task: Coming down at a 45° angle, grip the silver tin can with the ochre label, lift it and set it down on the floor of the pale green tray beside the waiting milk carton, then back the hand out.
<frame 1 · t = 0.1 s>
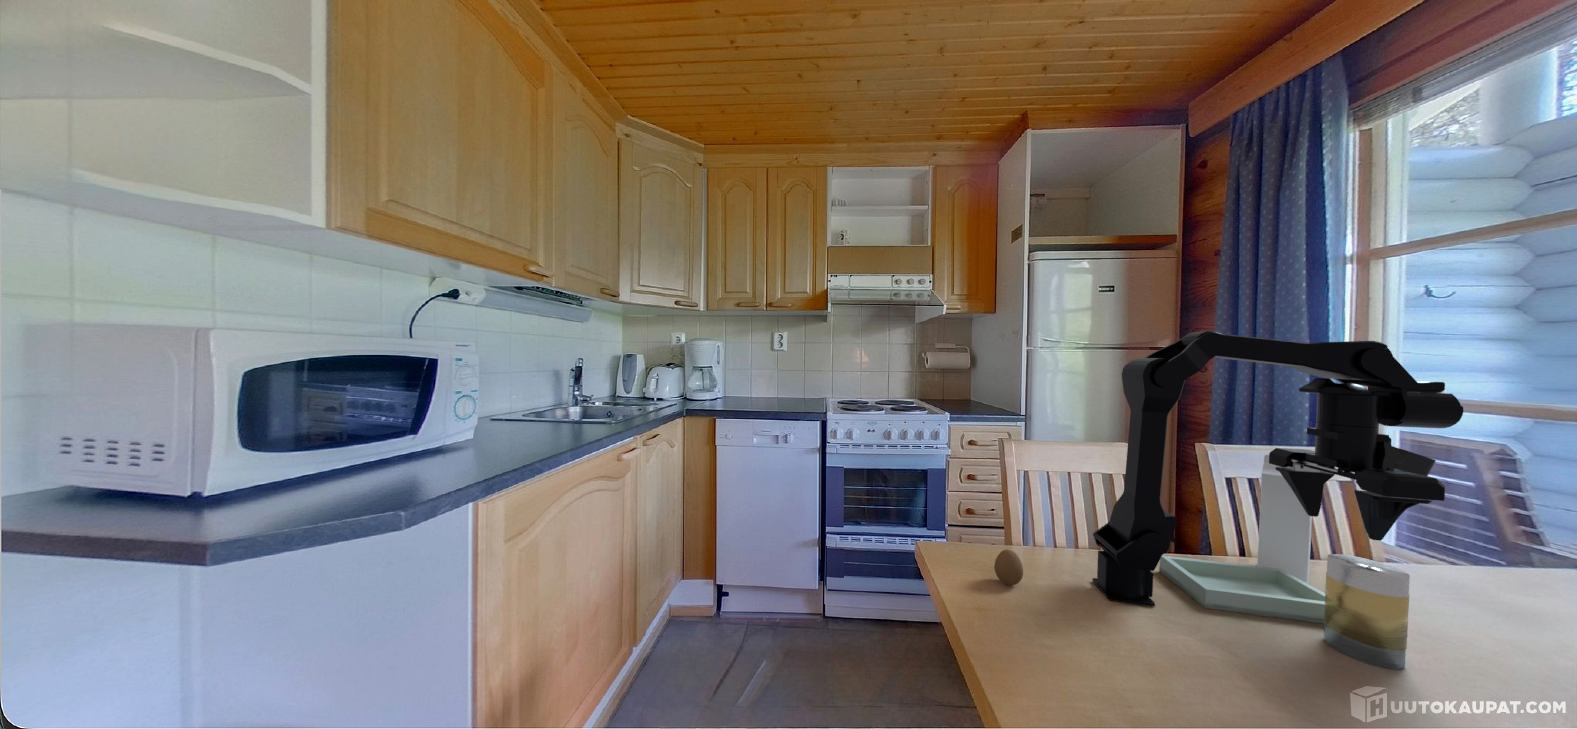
hand: (1342, 527, 64), 15 cm above the table, tool pointing down, fingers open, 9 cm apart
egg: (1008, 585, 74), on the table
pale green tray: (1244, 596, 71), on the table
tin can: (1362, 651, 58), on the table
milk: (1282, 575, 79), on the table
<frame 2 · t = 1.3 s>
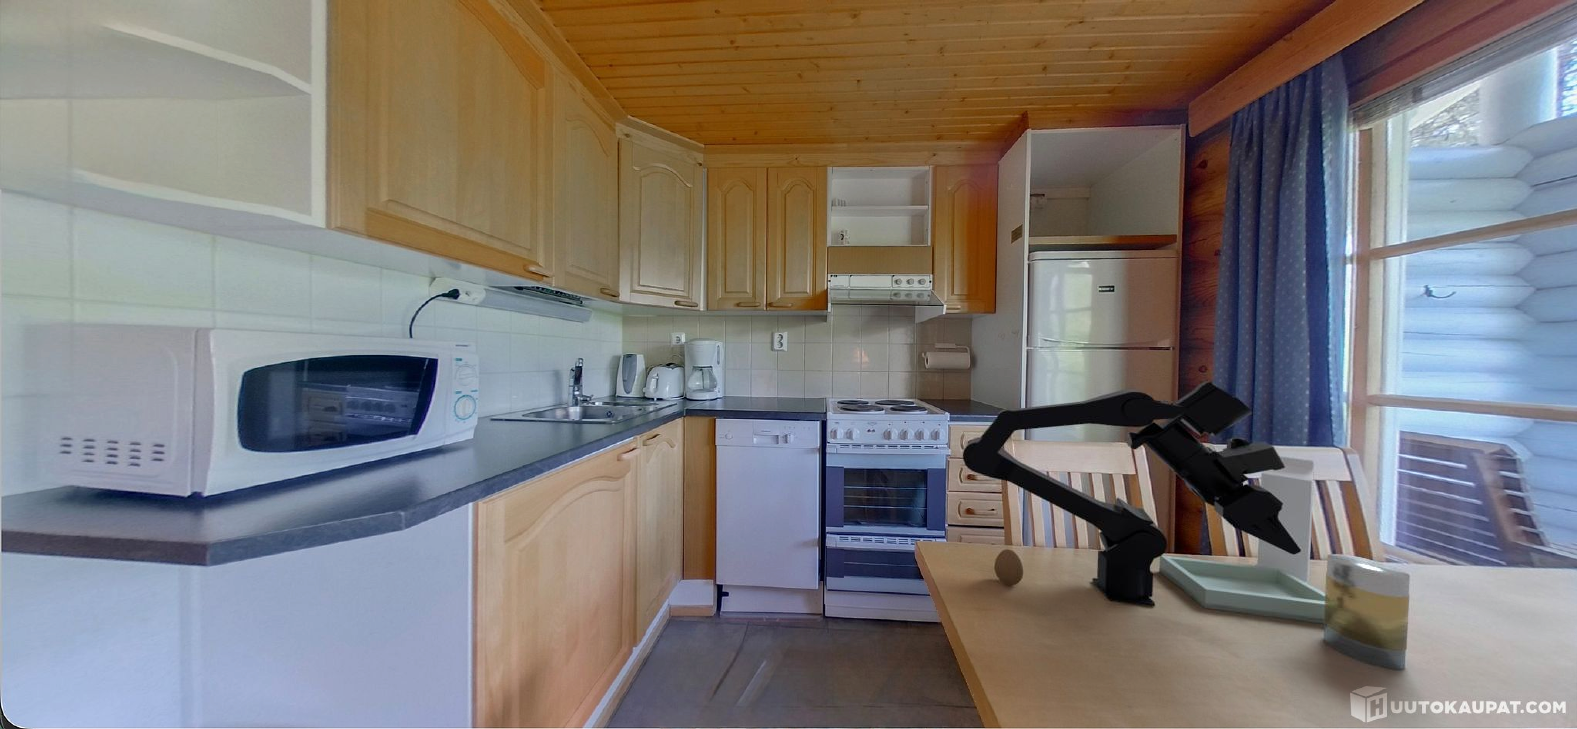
hand: (1280, 540, 62), 13 cm above the table, tool tilted 45°, fingers open, 9 cm apart
nothing on the table moved.
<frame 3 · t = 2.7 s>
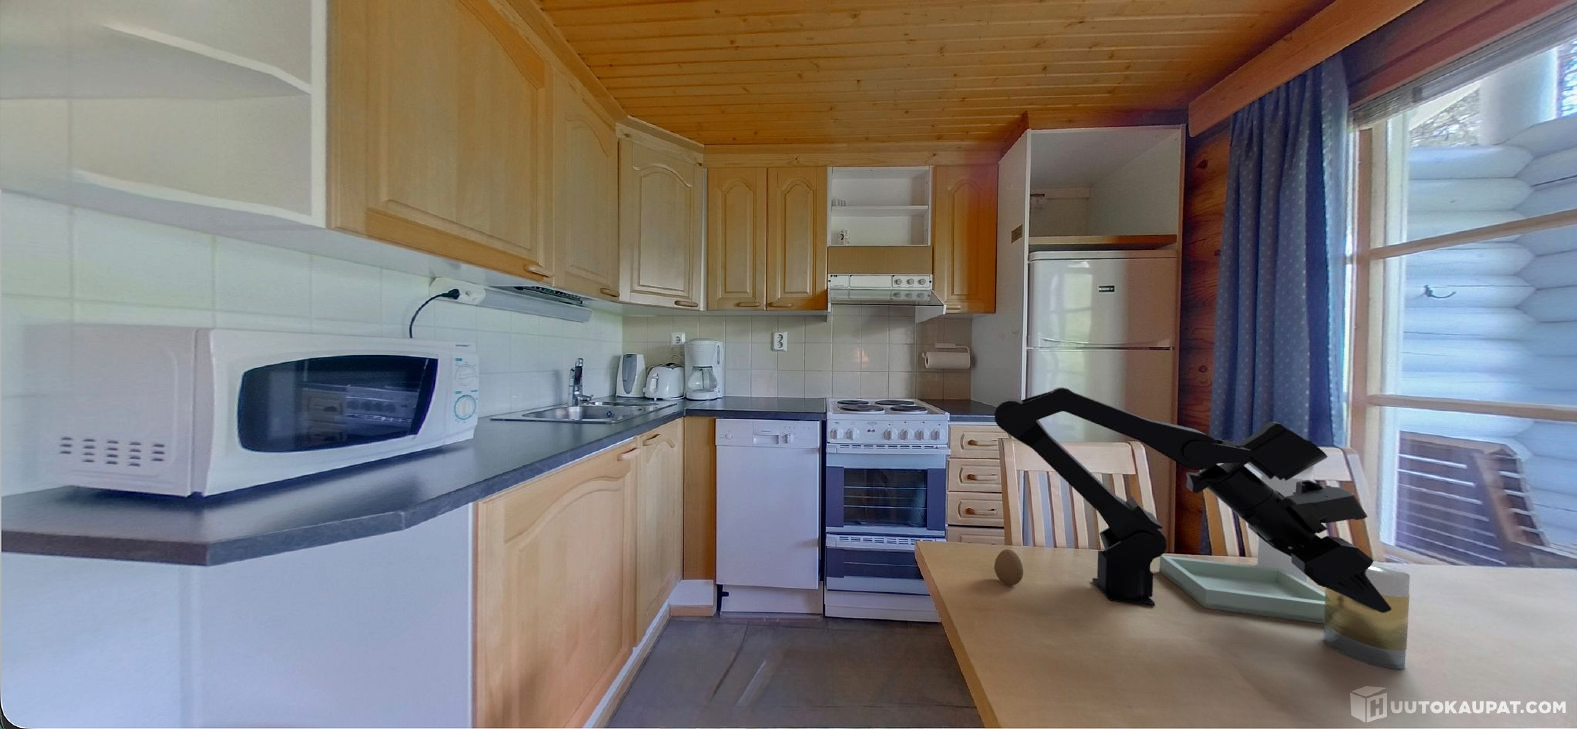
hand: (1363, 593, 58), 8 cm above the table, tool tilted 45°, fingers open, 9 cm apart
nothing on the table moved.
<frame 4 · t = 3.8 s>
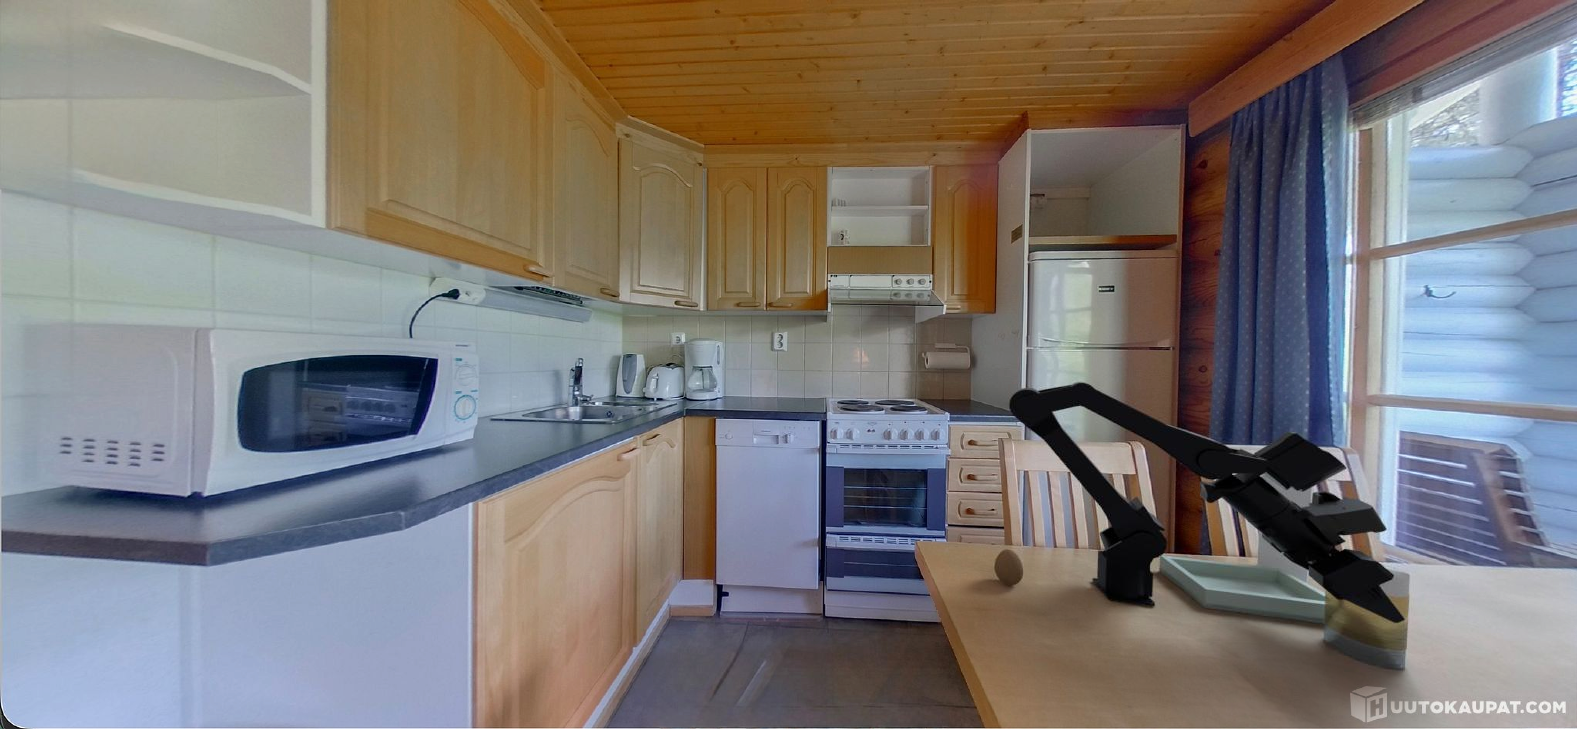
hand: (1381, 607, 57), 7 cm above the table, tool tilted 45°, fingers closed on tin can, 7 cm apart
tin can: (1362, 651, 58), on the table, touching gripper
everything else where it was.
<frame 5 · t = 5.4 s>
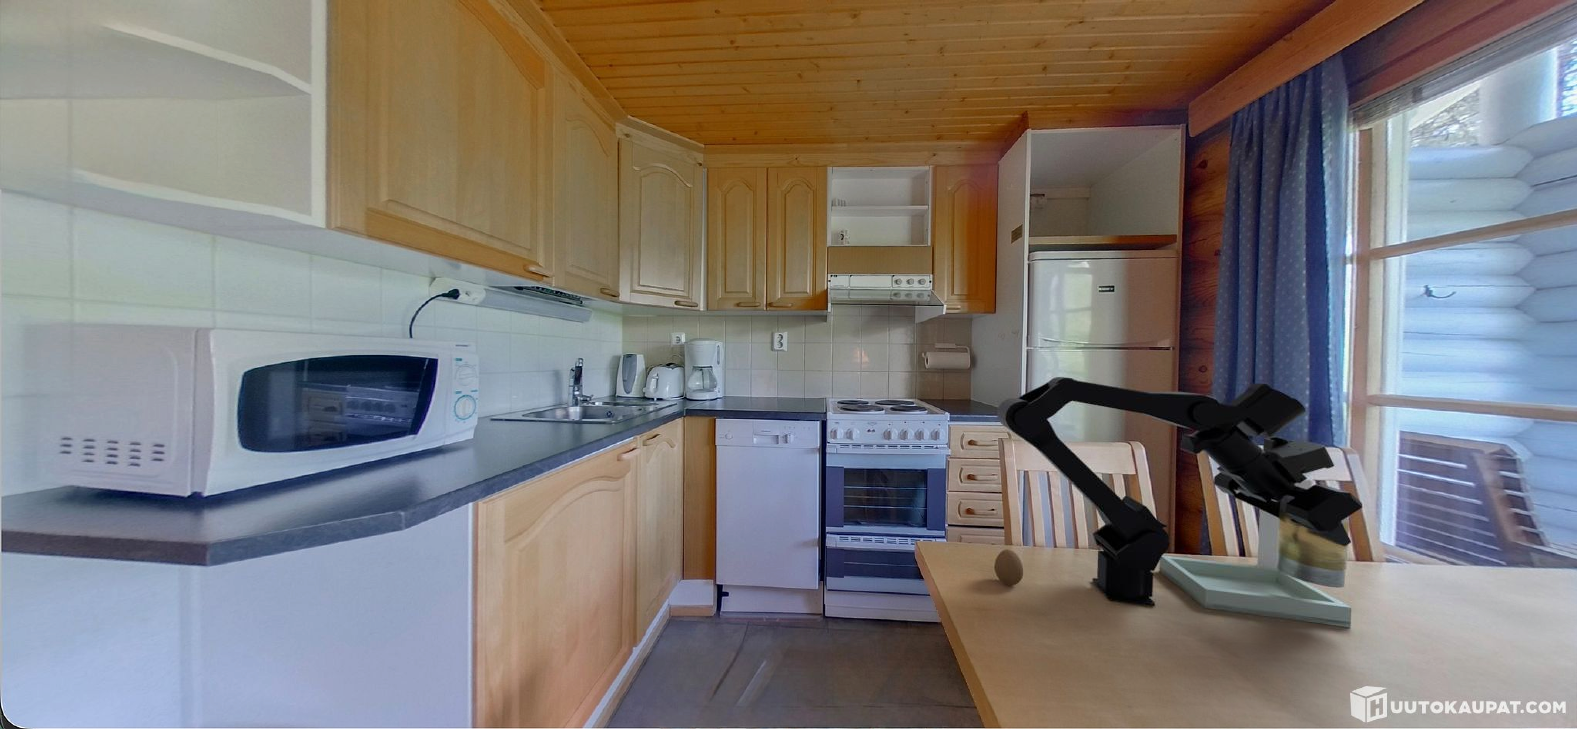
hand: (1323, 534, 65), 13 cm above the table, tool tilted 45°, fingers closed on tin can, 7 cm apart
tin can: (1309, 575, 65), point 7 cm above the table, touching gripper
everything else where it was.
when the fingers open (9 cm above the table, at t = 7.1 s): tin can drops 1 cm, resting on pale green tray.
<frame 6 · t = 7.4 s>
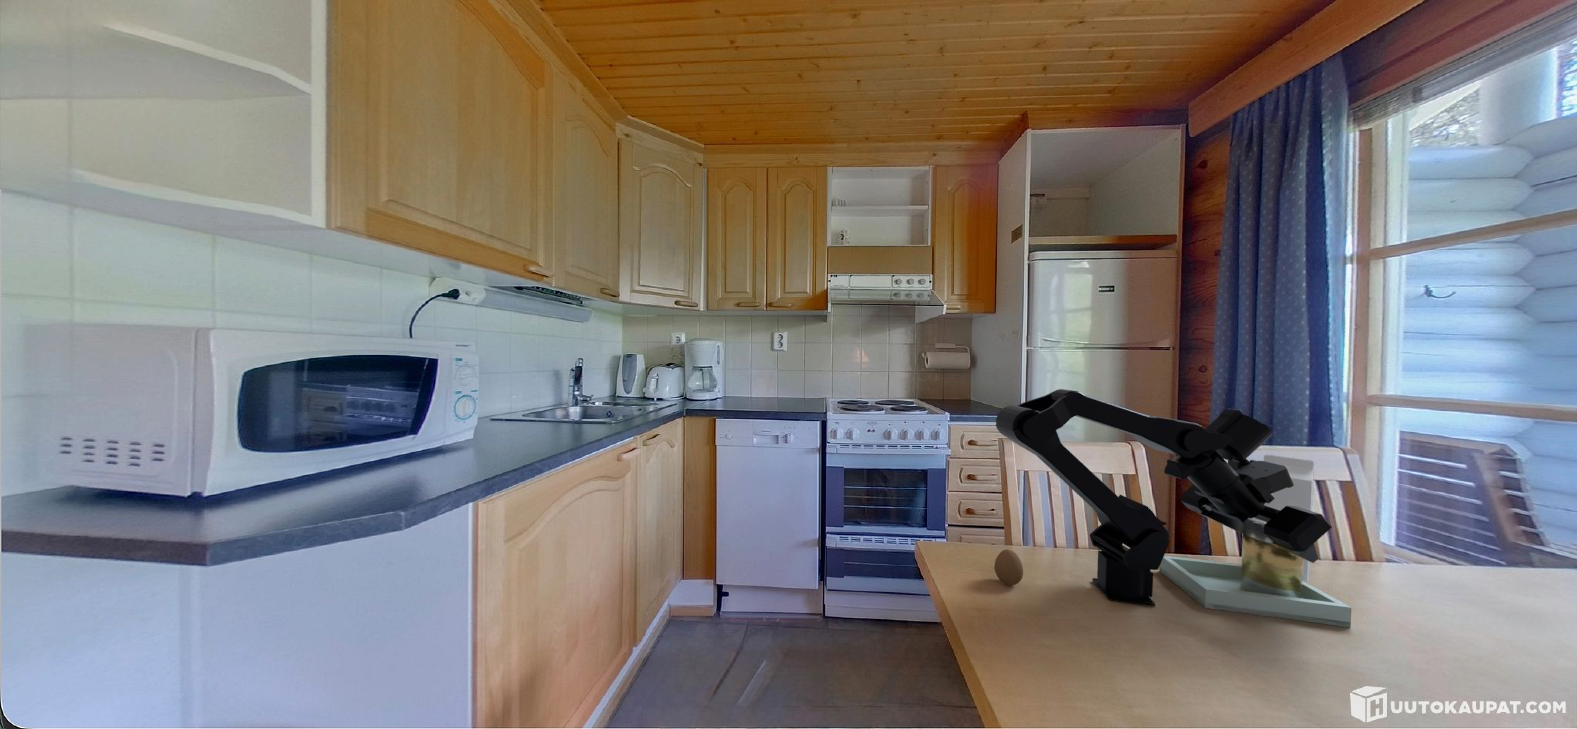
hand: (1281, 546, 70), 9 cm above the table, tool tilted 45°, fingers open, 9 cm apart
tin can: (1269, 594, 70), point 1 cm above the table, touching pale green tray
everything else where it was.
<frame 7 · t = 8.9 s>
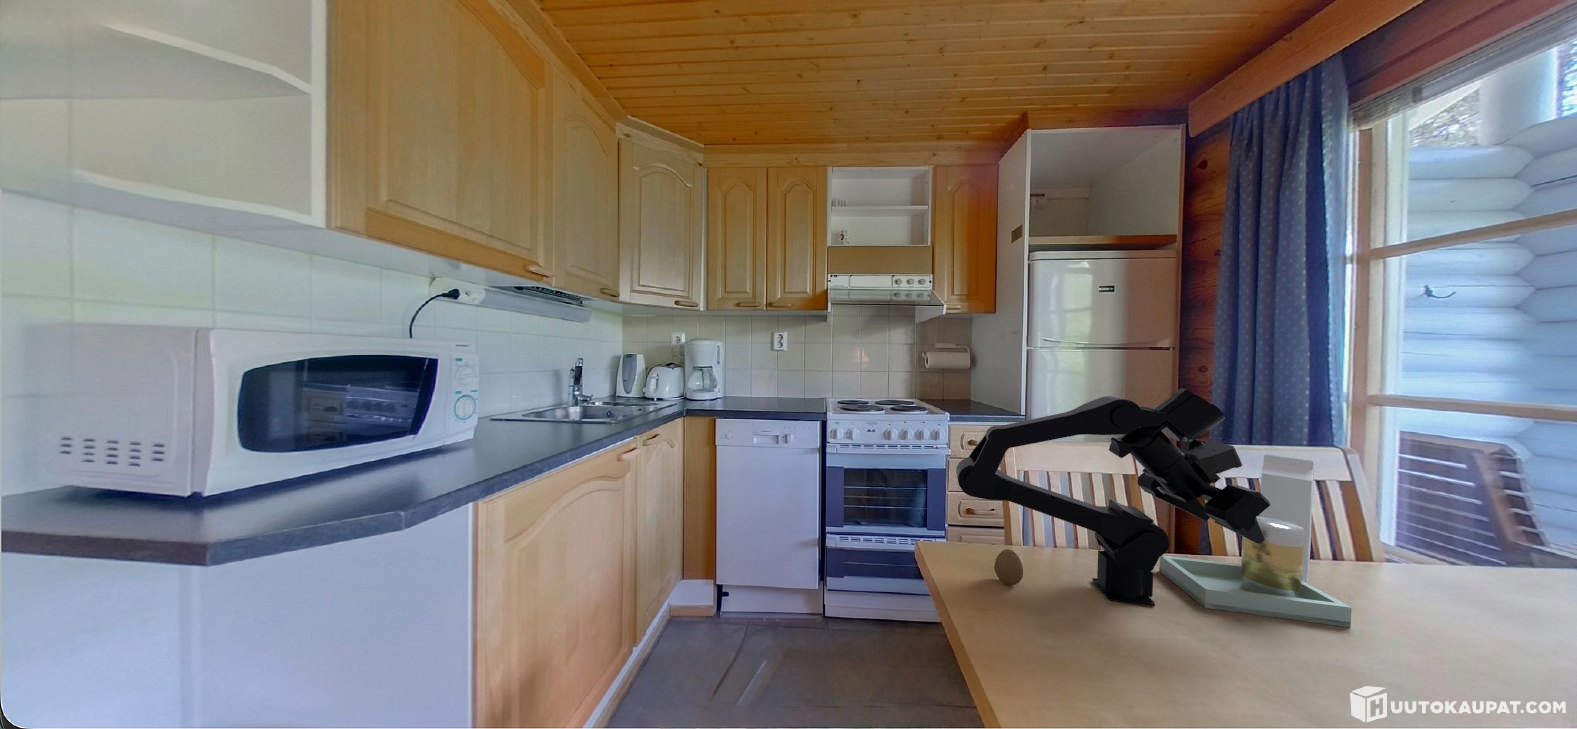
hand: (1232, 529, 69), 12 cm above the table, tool tilted 45°, fingers open, 9 cm apart
nothing on the table moved.
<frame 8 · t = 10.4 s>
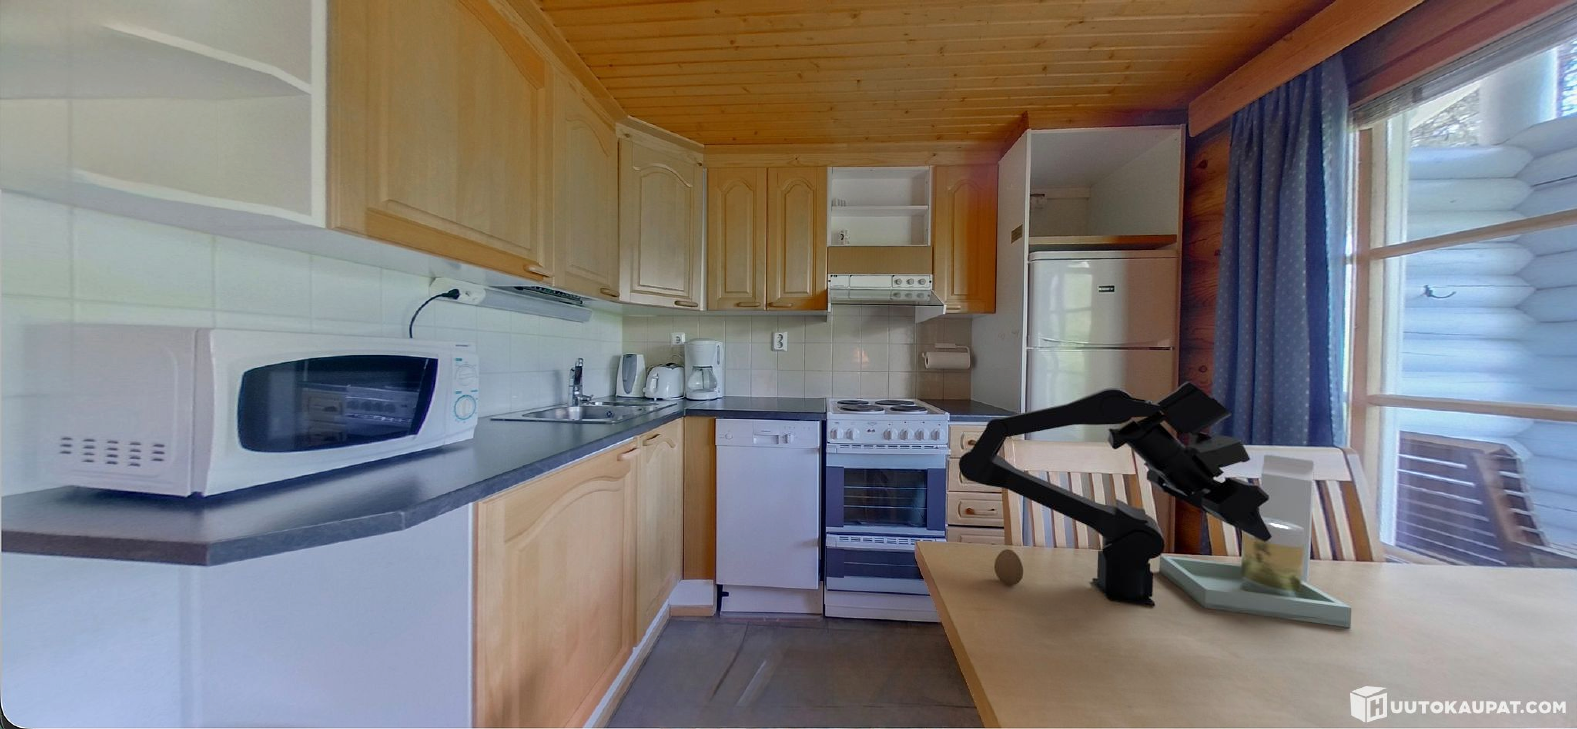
hand: (1242, 526, 66), 14 cm above the table, tool tilted 45°, fingers open, 9 cm apart
nothing on the table moved.
at the end: tin can inside the target area on the pale green tray (3.4 cm from its centre), point 0.8 cm above the pale green tray's base; tin can tilted 0°; the gripper is holding nothing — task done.
